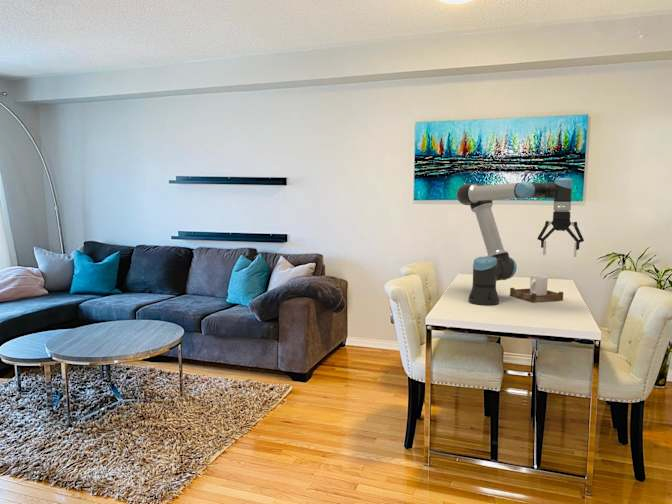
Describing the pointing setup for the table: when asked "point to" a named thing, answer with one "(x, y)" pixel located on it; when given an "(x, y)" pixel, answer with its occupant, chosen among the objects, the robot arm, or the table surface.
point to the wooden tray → (525, 295)
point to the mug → (538, 285)
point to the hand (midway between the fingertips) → (559, 255)
